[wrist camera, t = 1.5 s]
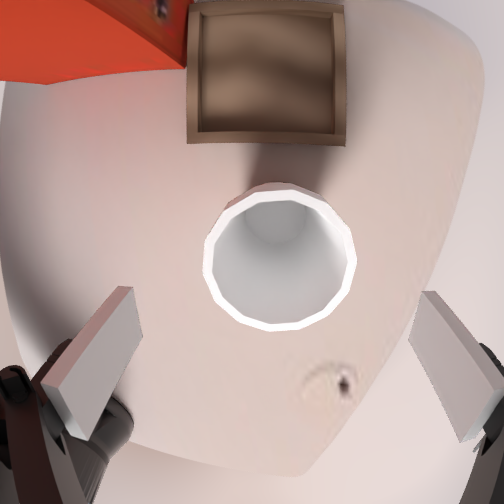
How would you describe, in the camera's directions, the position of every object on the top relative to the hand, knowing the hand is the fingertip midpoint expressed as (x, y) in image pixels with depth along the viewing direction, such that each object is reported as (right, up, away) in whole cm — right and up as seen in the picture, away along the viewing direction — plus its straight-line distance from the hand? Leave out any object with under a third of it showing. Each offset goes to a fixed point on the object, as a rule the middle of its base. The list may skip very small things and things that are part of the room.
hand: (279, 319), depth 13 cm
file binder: (-16, +25, +11) cm, 32 cm away
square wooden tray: (0, +20, +12) cm, 23 cm away
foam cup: (+1, +7, +18) cm, 19 cm away
